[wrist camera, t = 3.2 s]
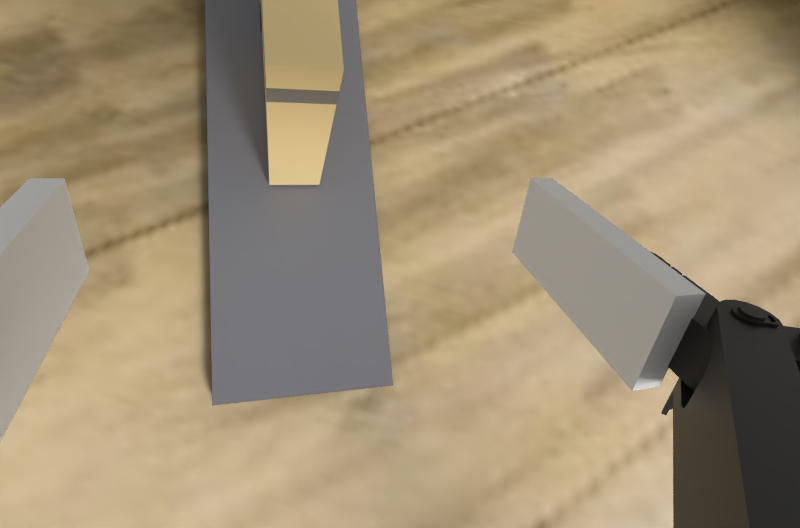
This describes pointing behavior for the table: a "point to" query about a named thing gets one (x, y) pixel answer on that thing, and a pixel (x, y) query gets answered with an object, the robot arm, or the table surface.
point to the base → (288, 233)
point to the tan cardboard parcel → (300, 85)
